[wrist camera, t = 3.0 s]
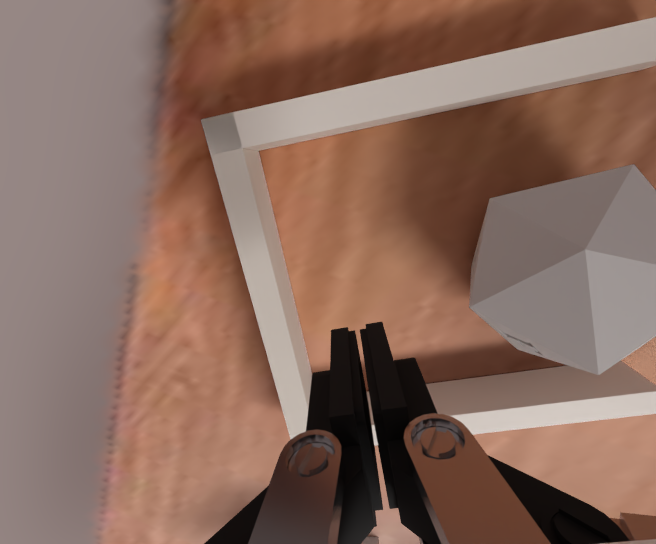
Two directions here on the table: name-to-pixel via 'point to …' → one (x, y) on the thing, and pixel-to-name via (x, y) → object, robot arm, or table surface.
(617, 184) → the die
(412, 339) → the table surface
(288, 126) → the bay
